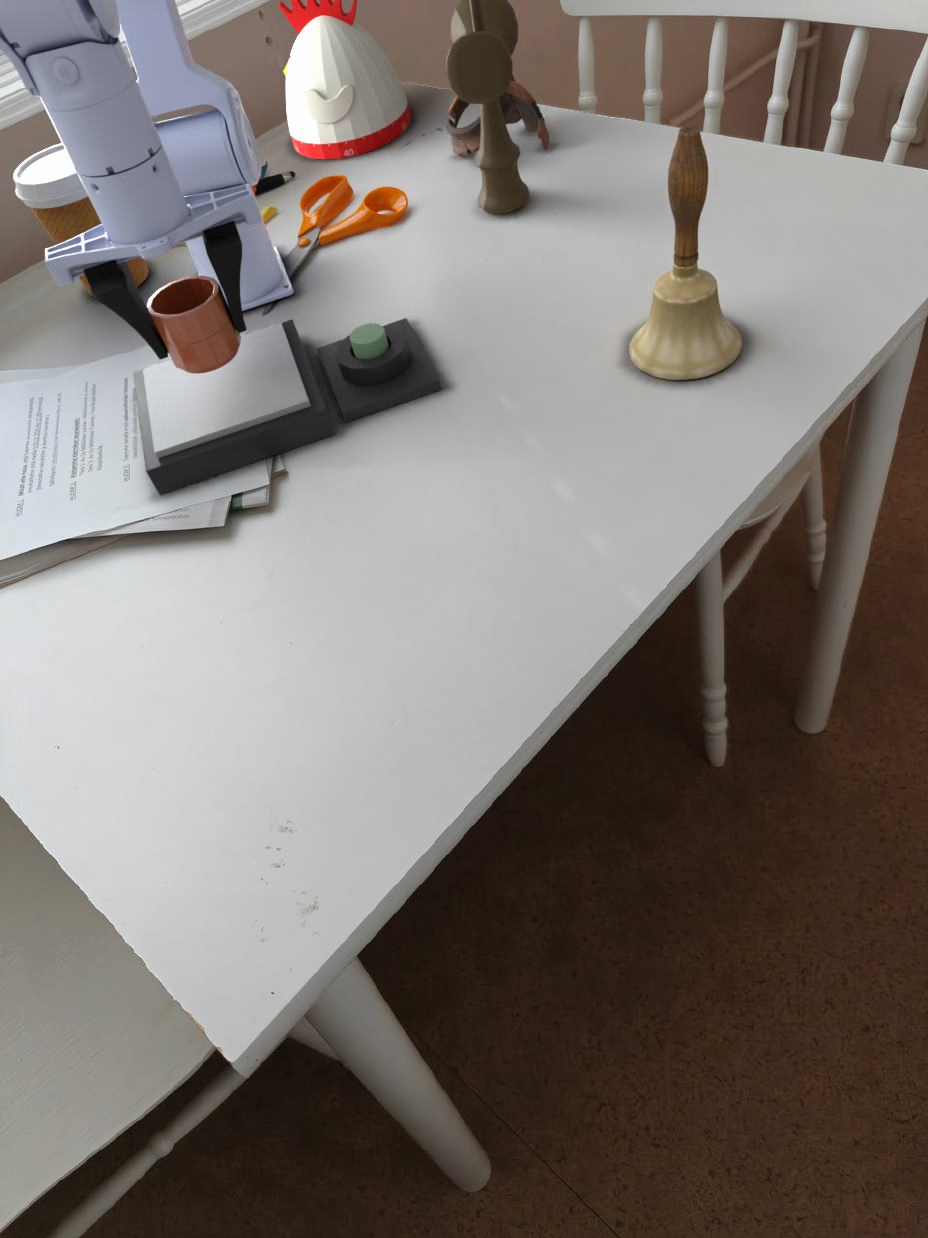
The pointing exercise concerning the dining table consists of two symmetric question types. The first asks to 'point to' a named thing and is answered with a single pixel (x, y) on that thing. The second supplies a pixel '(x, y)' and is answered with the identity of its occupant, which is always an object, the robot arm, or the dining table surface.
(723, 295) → the dining table surface
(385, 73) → the kitchen timer
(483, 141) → the kendama
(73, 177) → the disposable coffee cup
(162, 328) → the terracotta flower pot
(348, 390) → the pad
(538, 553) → the dining table surface
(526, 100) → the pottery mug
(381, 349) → the tare button
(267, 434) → the scale
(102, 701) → the dining table surface
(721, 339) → the hand bell
